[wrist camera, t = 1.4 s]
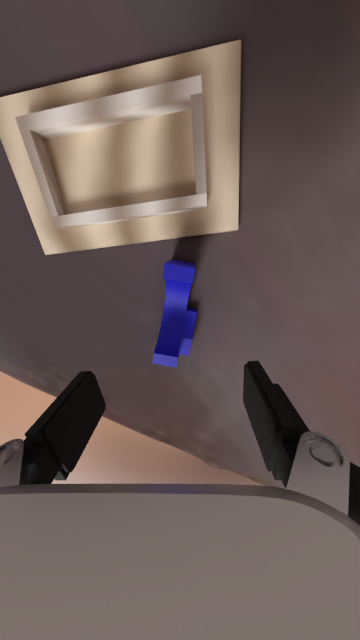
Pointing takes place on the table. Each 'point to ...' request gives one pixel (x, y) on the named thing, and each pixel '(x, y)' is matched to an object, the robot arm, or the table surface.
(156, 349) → the blue curved piece
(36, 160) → the clip cradle
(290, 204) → the table surface
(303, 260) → the table surface
